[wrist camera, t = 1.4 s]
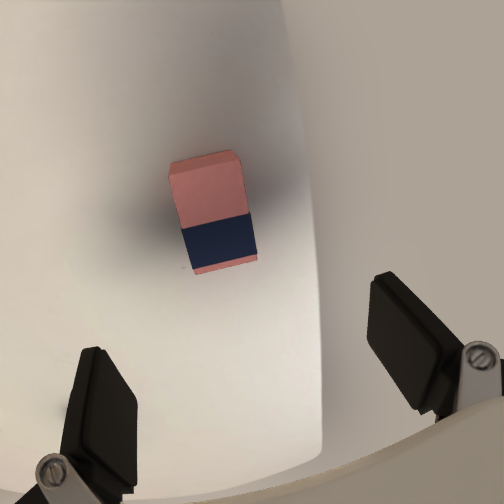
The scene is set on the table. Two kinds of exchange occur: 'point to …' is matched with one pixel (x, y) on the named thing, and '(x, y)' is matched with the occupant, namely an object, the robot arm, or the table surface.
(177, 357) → the table surface
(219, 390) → the table surface
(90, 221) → the table surface
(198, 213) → the eraser
